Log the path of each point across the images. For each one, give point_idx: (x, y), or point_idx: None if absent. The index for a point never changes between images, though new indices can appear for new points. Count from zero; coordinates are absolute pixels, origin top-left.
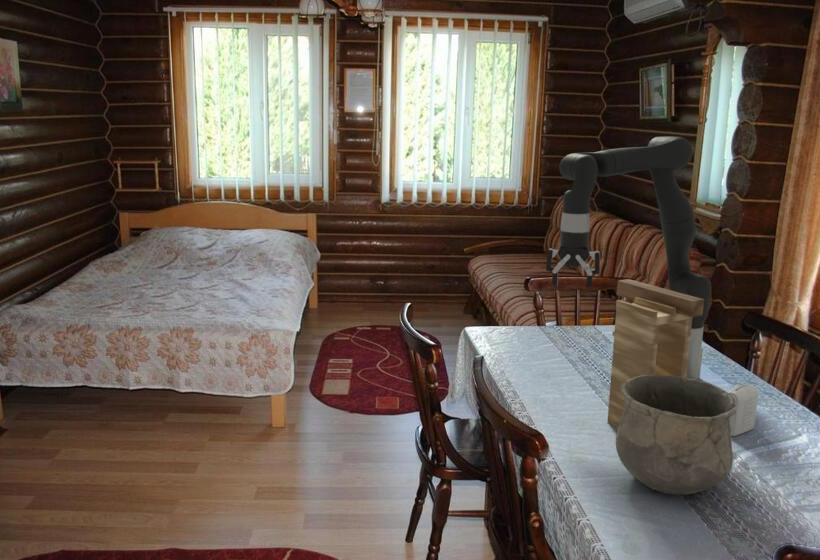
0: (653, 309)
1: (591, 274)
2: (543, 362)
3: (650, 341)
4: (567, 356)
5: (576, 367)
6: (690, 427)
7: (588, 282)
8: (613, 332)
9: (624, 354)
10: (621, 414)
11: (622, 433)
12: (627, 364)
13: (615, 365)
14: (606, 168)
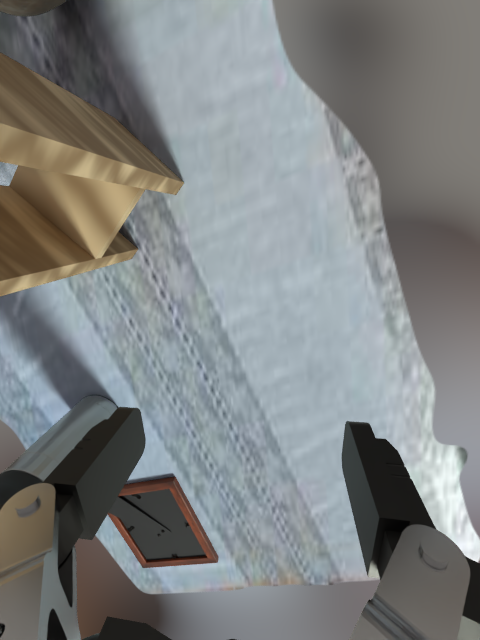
0: None
1: (20, 495)
2: (323, 433)
3: None
4: (282, 465)
5: (262, 422)
6: None
7: (97, 436)
8: (215, 560)
9: (47, 113)
10: (144, 152)
11: None
12: (57, 111)
13: (109, 151)
14: None
